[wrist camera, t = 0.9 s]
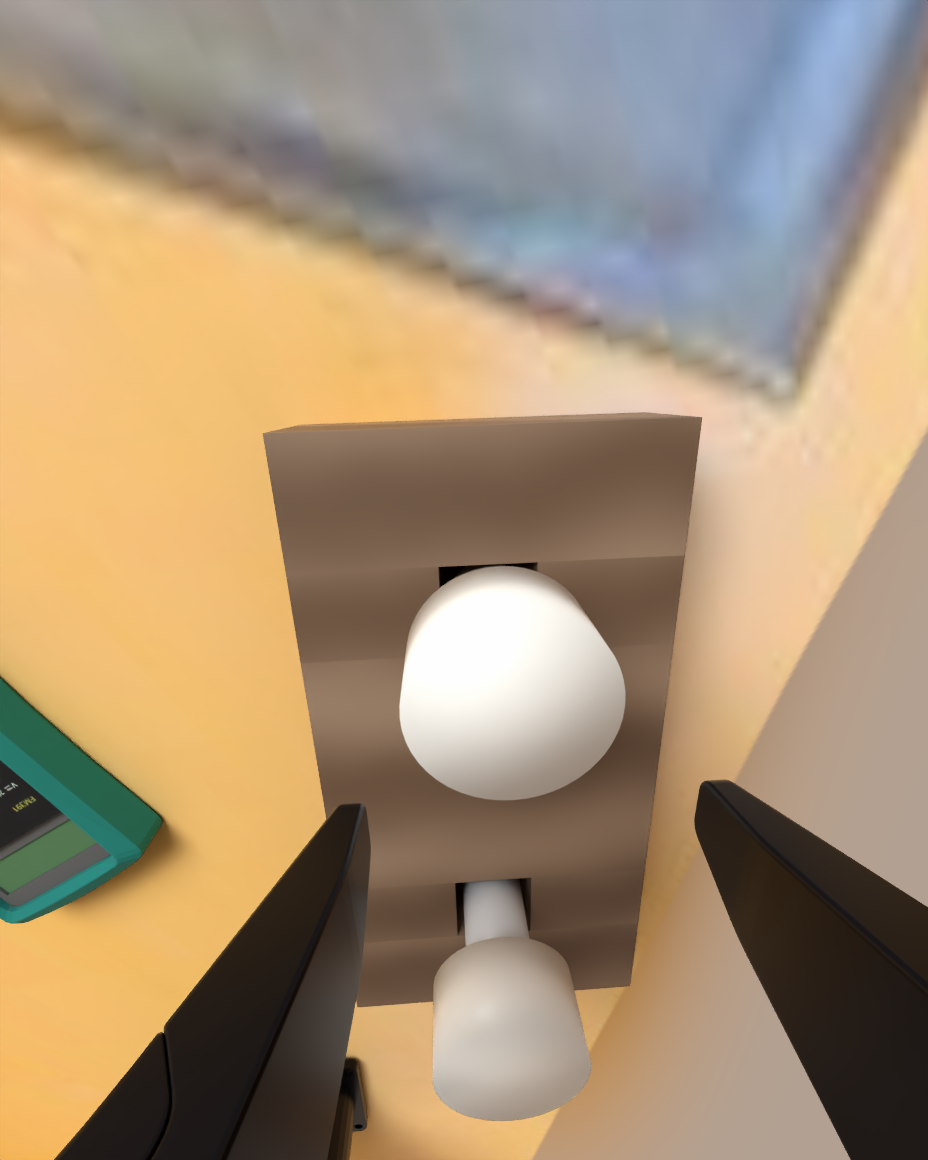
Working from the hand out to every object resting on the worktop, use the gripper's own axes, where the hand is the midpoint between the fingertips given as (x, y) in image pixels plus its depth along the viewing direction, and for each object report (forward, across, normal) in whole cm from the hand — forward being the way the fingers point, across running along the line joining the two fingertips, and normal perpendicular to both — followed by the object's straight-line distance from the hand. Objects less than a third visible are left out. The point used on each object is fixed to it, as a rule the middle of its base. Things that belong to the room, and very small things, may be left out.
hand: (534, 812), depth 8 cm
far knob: (+10, 0, +13) cm, 16 cm away
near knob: (+10, 0, 0) cm, 10 cm away
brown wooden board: (+12, 0, +6) cm, 14 cm away
